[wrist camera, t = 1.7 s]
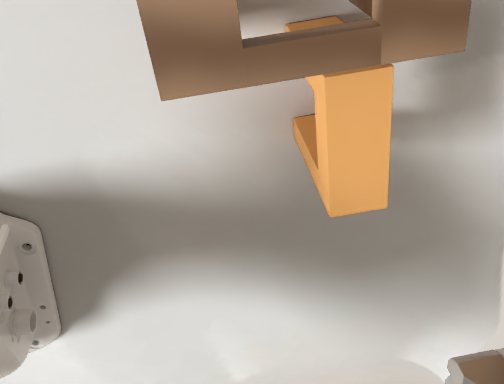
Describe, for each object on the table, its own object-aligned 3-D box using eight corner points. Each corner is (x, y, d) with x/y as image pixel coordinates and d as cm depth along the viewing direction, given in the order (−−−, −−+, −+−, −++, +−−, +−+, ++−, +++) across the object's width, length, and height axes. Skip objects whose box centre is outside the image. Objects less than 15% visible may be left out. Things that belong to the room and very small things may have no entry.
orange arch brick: (338, 130, 42) (387, 207, 33) (294, 138, 42) (330, 217, 32) (336, 15, 37) (393, 66, 27) (285, 24, 37) (324, 77, 27)
